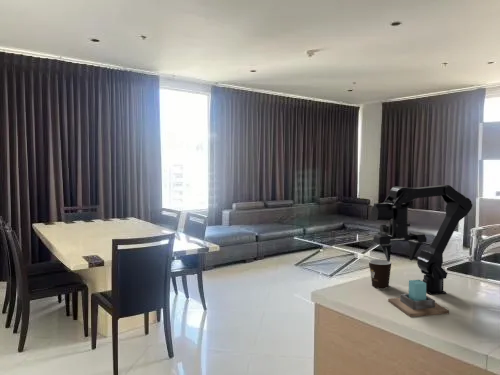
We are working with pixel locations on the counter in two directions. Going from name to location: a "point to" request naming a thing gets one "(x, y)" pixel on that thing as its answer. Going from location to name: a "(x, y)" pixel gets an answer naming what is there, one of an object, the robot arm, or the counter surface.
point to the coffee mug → (380, 273)
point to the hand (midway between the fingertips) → (399, 260)
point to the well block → (417, 306)
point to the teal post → (417, 290)
